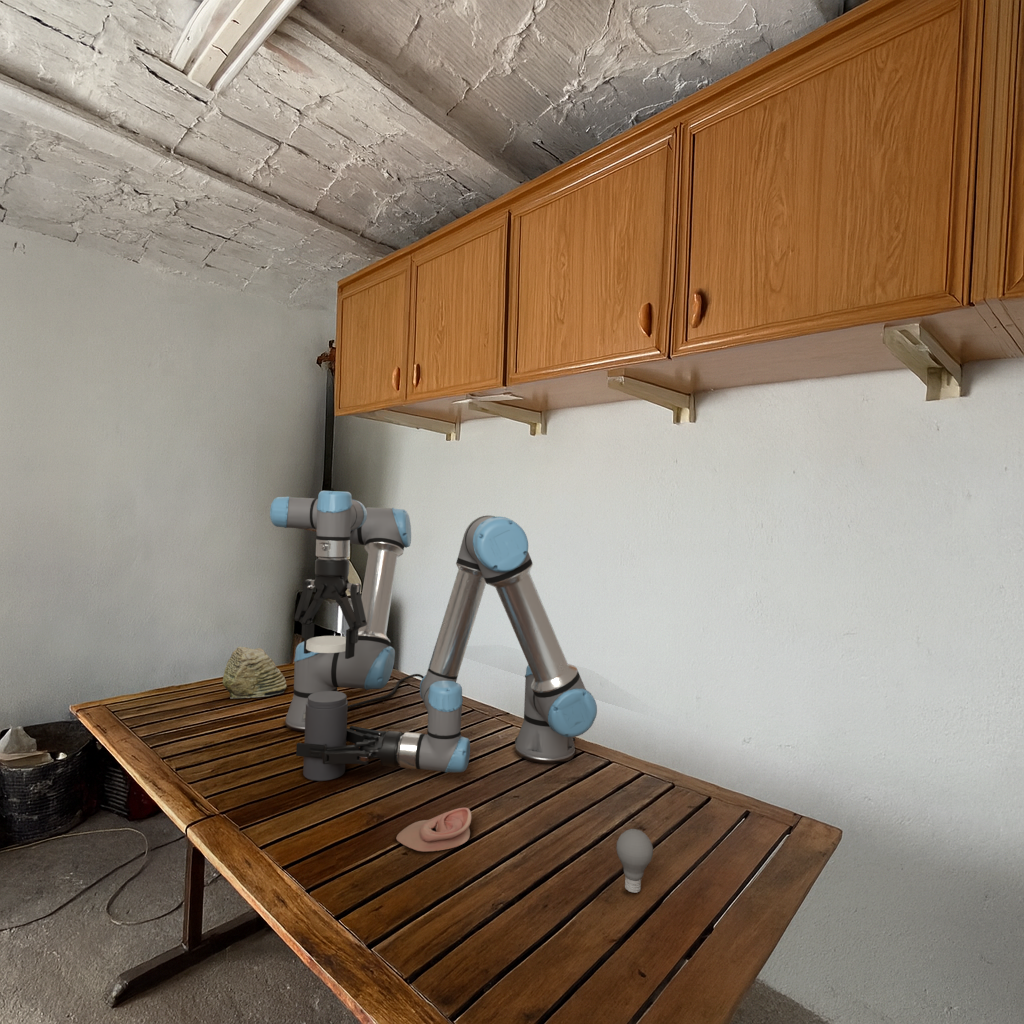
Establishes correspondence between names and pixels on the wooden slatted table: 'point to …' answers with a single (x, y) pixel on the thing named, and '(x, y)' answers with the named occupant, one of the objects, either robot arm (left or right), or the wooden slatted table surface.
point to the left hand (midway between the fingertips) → (328, 654)
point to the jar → (325, 731)
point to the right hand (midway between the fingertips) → (306, 740)
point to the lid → (326, 644)
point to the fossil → (252, 674)
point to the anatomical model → (438, 831)
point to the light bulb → (634, 857)
